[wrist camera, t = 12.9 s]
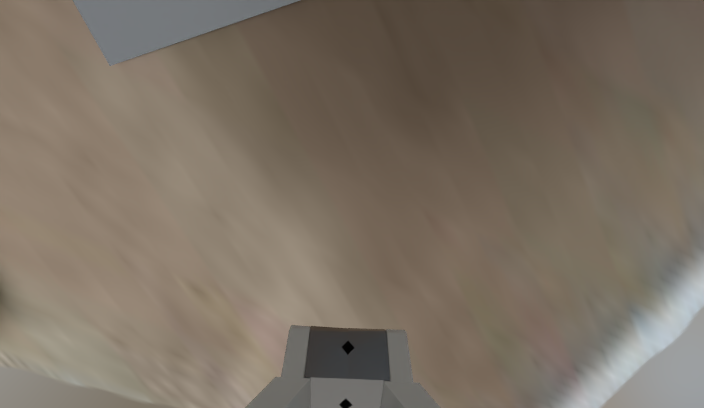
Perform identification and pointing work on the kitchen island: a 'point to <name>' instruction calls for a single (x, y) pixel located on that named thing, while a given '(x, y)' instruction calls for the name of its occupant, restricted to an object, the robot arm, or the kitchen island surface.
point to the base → (161, 21)
